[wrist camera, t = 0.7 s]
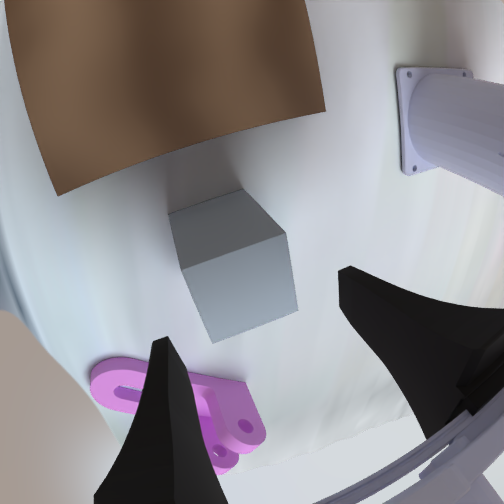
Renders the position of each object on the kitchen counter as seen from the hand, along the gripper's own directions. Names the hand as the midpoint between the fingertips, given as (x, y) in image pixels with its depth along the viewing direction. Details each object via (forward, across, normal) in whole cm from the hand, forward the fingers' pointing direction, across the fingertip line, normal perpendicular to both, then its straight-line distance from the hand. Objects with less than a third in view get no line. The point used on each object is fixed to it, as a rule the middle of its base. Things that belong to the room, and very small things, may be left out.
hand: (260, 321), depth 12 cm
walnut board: (+8, 0, -13) cm, 15 cm away
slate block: (+8, 0, 0) cm, 8 cm away
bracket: (+8, +8, +12) cm, 17 cm away
